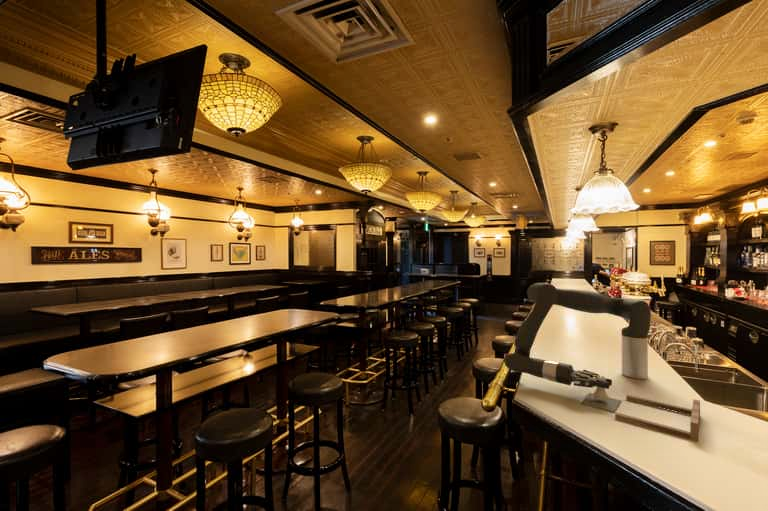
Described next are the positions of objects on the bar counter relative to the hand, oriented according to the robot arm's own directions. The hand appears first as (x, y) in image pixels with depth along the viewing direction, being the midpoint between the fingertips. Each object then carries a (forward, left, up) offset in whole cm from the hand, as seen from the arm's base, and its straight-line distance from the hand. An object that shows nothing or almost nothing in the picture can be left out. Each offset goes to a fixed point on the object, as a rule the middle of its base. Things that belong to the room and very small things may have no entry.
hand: (610, 384), depth 119 cm
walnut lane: (0, +12, -7) cm, 14 cm away
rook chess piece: (0, -3, -6) cm, 7 cm away
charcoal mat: (0, -3, -7) cm, 8 cm away
